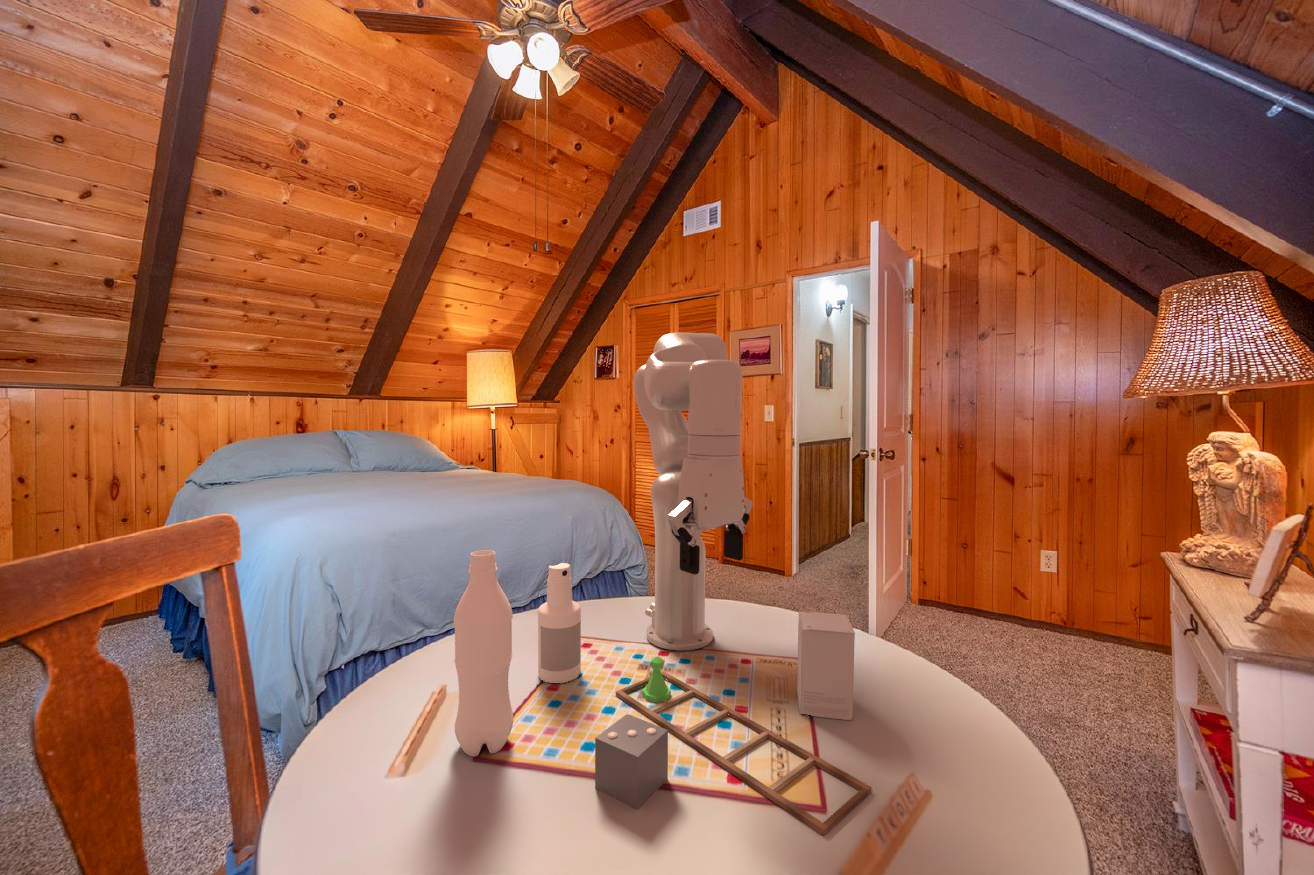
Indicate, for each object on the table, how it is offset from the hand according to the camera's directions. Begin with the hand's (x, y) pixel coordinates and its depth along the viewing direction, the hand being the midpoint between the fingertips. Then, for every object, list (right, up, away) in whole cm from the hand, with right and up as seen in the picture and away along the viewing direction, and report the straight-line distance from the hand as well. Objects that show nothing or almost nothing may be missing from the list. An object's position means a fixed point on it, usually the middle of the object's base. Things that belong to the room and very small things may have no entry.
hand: (712, 564), depth 79 cm
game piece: (-8, -21, +4) cm, 23 cm away
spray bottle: (-24, -20, +10) cm, 33 cm away
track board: (+1, -21, -7) cm, 22 cm away
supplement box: (+17, -21, +1) cm, 27 cm away
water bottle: (-30, -21, -9) cm, 38 cm away
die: (-11, -22, -16) cm, 29 cm away
